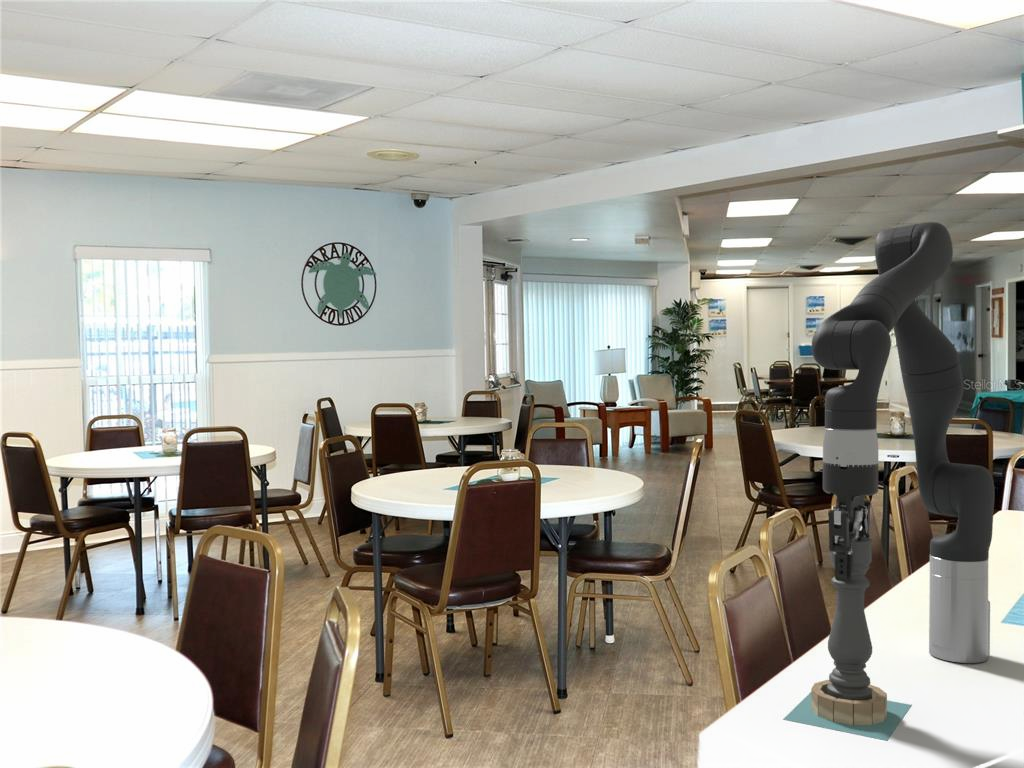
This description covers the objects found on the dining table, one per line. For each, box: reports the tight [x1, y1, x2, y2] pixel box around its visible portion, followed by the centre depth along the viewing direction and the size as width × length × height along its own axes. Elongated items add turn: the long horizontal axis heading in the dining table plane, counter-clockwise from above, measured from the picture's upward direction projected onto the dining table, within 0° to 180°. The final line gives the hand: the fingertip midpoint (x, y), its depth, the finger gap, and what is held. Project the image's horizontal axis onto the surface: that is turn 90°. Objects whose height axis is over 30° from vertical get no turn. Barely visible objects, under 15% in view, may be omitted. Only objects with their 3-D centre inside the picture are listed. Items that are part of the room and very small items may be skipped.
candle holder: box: [827, 536, 873, 701], centre depth 139 cm, size 6×6×25 cm
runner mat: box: [782, 691, 913, 742], centre depth 139 cm, size 16×14×1 cm
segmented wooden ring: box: [810, 679, 888, 725], centre depth 139 cm, size 10×10×3 cm
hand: (849, 576), depth 138 cm, fingers open, 6 cm apart
